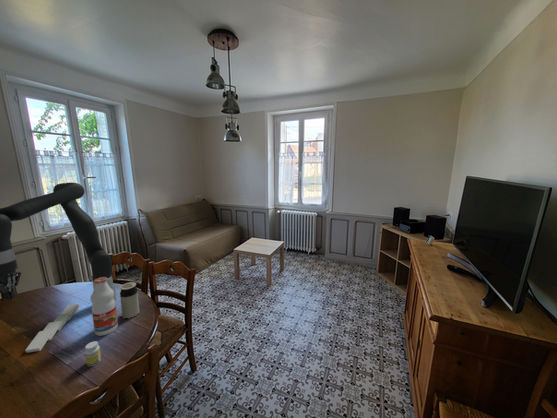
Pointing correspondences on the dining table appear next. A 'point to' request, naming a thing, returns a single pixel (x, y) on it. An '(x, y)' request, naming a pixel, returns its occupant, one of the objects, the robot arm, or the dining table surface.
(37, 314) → the dining table surface
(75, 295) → the dining table surface
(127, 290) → the travel mug
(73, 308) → the domino
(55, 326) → the domino
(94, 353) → the supplement bottle
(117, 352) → the dining table surface
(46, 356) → the dining table surface
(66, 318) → the domino
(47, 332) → the domino
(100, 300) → the fruit juice
